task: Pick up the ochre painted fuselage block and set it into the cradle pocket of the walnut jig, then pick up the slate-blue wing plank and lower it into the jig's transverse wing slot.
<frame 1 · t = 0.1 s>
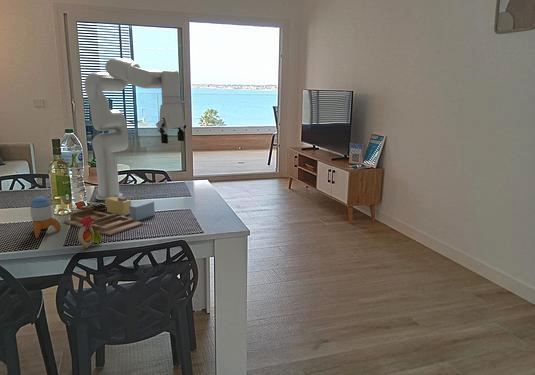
hand: (173, 142, 180), 31 cm above the table, fingers open, 9 cm apart
bird rattle: (89, 246, 148), on the table
toy rocket: (42, 232, 161), on the table
wing plank: (142, 217, 180), on the table
fuselage block: (118, 212, 187), on the table
jig: (103, 223, 171), on the table
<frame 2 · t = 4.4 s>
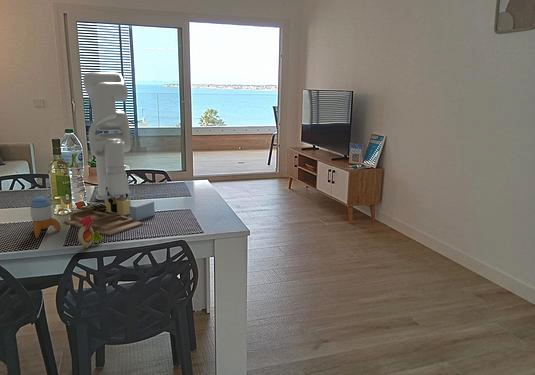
hand: (118, 210, 186), 1 cm above the table, fingers closed on fuselage block, 4 cm apart
fuselage block: (118, 212, 187), on the table, touching gripper
everything else where it was.
when the fingers open (3 cm above the table, at t = 20.2 s): fuselage block stays where it is, resting on jig.
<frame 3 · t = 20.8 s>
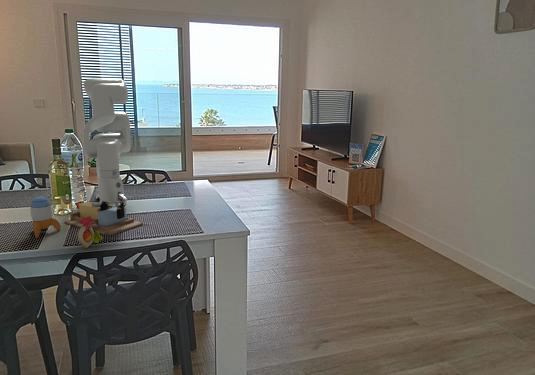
hand: (112, 216, 167), 4 cm above the table, fingers open, 9 cm apart
wing plank: (112, 224, 168), point 1 cm above the table, touching jig
fuselage block: (93, 219, 174), point 1 cm above the table, touching gripper, jig
everything else where it was.
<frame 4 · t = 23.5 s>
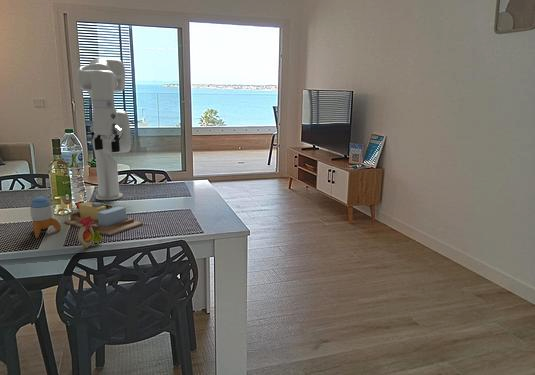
hand: (107, 150, 161), 30 cm above the table, fingers open, 9 cm apart
fuselage block: (93, 219, 174), point 1 cm above the table, touching jig
everything else where it was.
at the end: fuselage block 0.4 cm from the target spot on the jig, point 0.8 cm above the jig's base; wing plank 0.1 cm from the target spot on the jig, point 0.8 cm above the jig's base; the gripper is holding nothing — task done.
